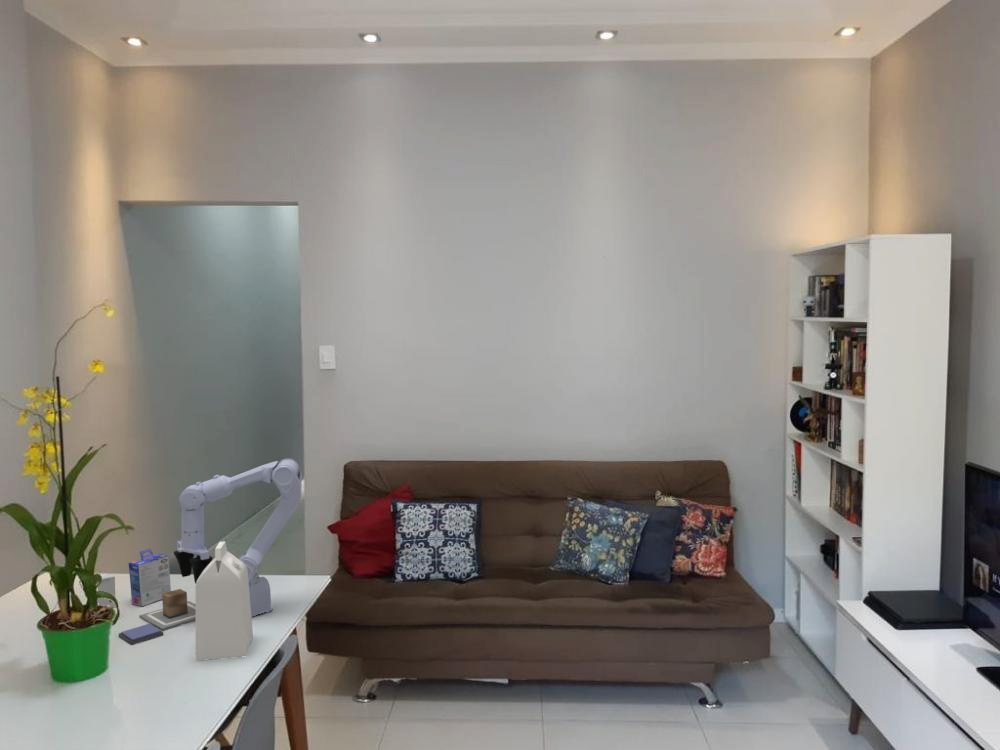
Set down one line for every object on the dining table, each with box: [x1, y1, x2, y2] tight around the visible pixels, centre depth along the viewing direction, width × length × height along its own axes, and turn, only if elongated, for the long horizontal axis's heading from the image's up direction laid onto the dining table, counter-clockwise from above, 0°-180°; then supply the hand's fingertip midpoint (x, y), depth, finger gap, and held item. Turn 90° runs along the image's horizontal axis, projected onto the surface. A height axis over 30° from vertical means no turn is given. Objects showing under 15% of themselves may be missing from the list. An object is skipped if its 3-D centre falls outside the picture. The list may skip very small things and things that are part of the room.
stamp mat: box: [138, 600, 196, 632], centre depth 216 cm, size 14×14×1 cm
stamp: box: [161, 588, 188, 619], centre depth 215 cm, size 5×4×6 cm
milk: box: [194, 540, 254, 661], centre depth 193 cm, size 12×12×26 cm
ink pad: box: [118, 623, 164, 646], centre depth 203 cm, size 8×8×1 cm
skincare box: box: [98, 572, 116, 607], centre depth 214 cm, size 6×4×12 cm
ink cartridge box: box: [128, 548, 172, 607], centre depth 228 cm, size 10×6×14 cm, turn 148°
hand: (192, 579), depth 214 cm, fingers open, 7 cm apart
